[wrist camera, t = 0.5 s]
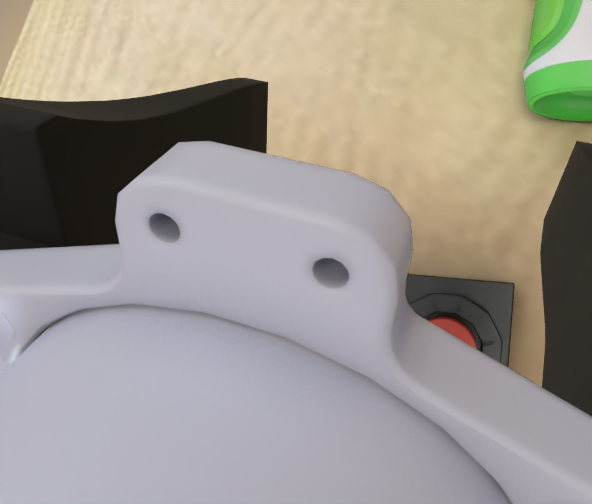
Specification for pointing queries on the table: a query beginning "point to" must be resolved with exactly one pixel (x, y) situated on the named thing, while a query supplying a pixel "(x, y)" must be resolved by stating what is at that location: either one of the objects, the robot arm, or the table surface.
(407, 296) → the black button base
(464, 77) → the table surface
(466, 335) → the release button
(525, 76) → the speaker
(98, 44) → the table surface
